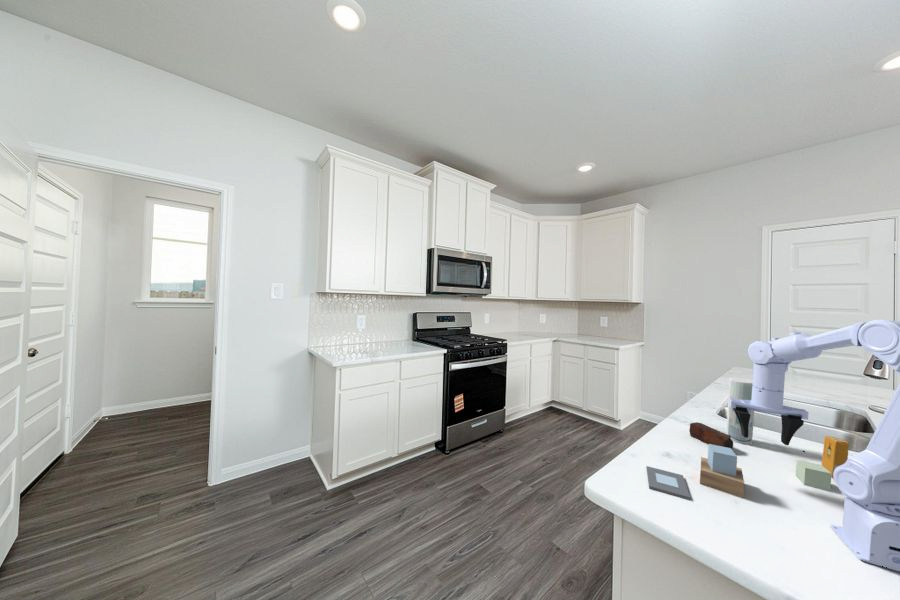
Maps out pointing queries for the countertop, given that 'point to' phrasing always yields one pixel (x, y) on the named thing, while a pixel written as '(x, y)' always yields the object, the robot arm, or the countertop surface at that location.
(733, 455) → the slate block
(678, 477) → the card
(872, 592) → the countertop surface
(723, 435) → the brick
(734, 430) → the spray can
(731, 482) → the base block
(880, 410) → the countertop surface
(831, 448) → the supplement box
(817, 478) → the sage block
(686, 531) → the countertop surface
